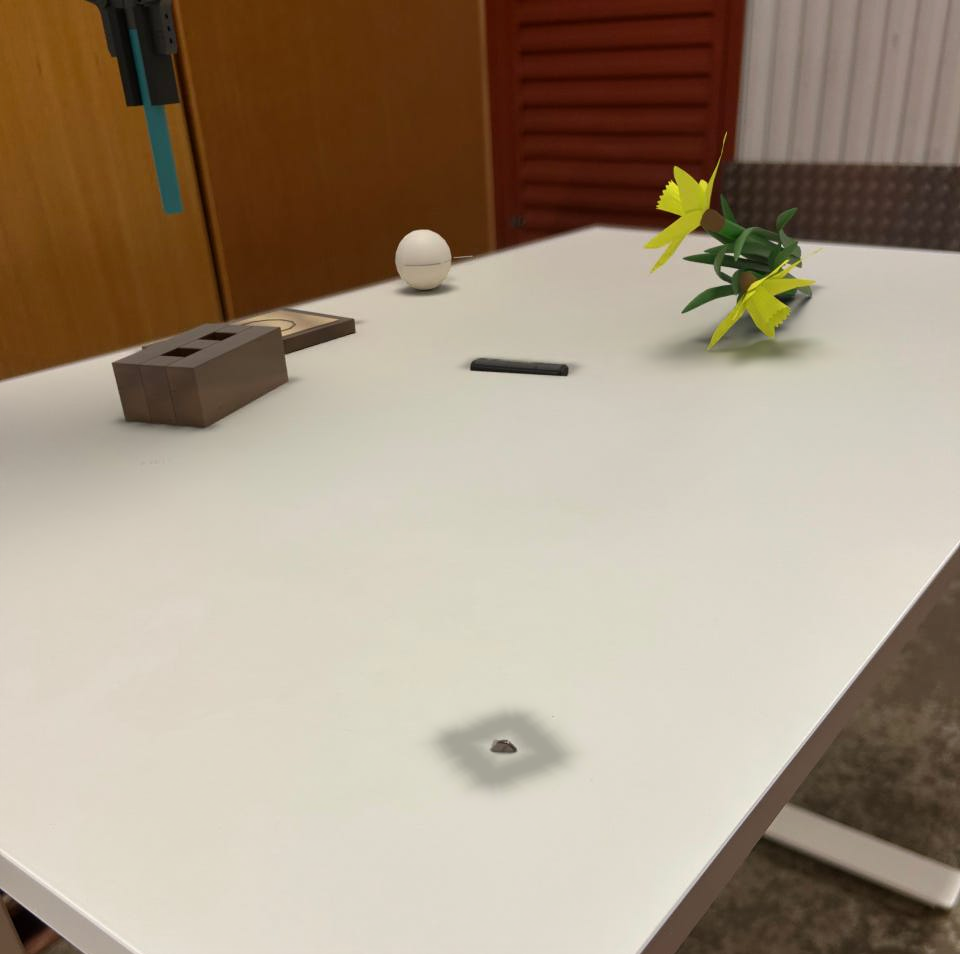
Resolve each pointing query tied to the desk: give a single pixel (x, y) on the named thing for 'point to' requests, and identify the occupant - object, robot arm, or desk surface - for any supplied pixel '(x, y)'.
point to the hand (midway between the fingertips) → (153, 104)
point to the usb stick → (518, 367)
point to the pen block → (201, 374)
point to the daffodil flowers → (755, 273)
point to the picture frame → (299, 327)
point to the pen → (155, 126)
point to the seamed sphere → (423, 259)
